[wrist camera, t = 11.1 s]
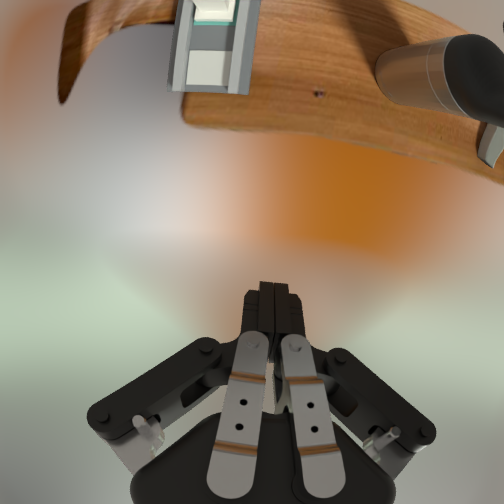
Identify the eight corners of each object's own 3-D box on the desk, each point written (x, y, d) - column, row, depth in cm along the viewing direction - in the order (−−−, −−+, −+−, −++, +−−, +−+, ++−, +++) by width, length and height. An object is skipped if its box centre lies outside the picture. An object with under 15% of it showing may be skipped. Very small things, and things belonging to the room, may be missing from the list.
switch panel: (183, -4, 25) (177, -13, 22) (261, -3, 25) (261, -13, 22) (171, 91, 33) (162, 91, 30) (248, 95, 34) (247, 94, 30)
